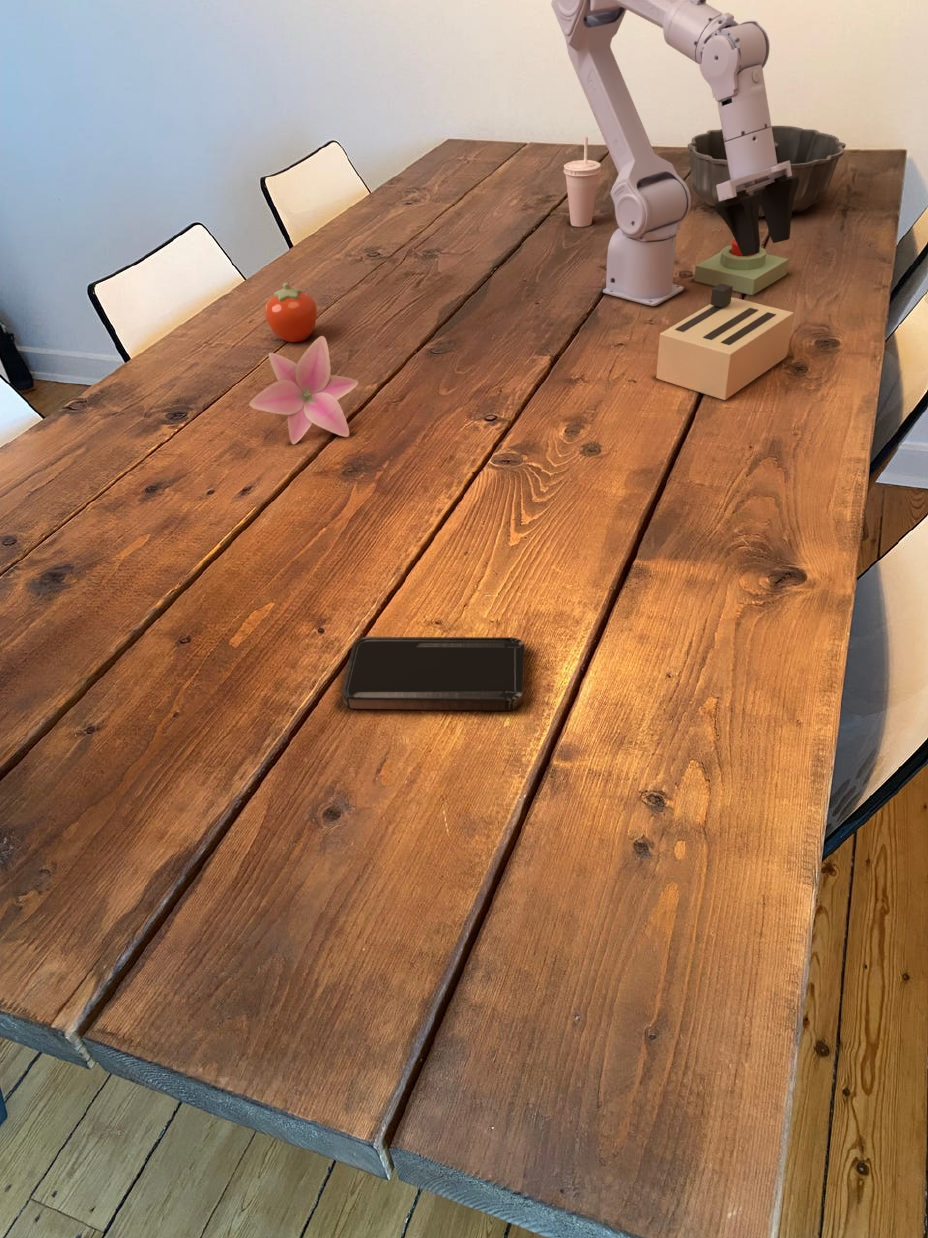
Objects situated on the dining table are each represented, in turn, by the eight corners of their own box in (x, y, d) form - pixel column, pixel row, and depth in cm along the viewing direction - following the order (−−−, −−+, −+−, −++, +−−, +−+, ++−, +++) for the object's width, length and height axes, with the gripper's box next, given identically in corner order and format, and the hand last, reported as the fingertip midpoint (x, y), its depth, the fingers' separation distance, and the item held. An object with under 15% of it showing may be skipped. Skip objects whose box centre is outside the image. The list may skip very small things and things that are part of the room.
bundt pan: (852, 189, 173) (864, 130, 167) (808, 234, 157) (819, 170, 150) (714, 175, 185) (720, 118, 179) (660, 215, 169) (664, 155, 162)
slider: (710, 304, 122) (712, 287, 121) (718, 299, 123) (720, 282, 122) (722, 307, 121) (724, 290, 120) (730, 302, 122) (732, 285, 121)
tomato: (330, 329, 139) (322, 275, 133) (303, 350, 134) (293, 295, 128) (288, 323, 141) (278, 270, 136) (260, 344, 136) (248, 289, 131)
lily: (245, 446, 116) (243, 399, 107) (272, 371, 121) (272, 321, 112) (340, 472, 117) (346, 428, 108) (364, 397, 122) (371, 349, 113)
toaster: (655, 378, 121) (659, 332, 117) (719, 338, 129) (724, 294, 125) (724, 400, 115) (730, 353, 111) (786, 356, 123) (794, 311, 119)
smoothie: (597, 229, 165) (600, 142, 156) (560, 228, 166) (561, 142, 157) (600, 217, 170) (603, 131, 161) (565, 217, 171) (566, 132, 162)
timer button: (726, 255, 142) (727, 243, 141) (738, 248, 144) (740, 236, 143) (747, 259, 140) (749, 248, 139) (760, 252, 142) (761, 240, 141)
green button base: (693, 281, 145) (696, 254, 142) (728, 261, 150) (731, 235, 147) (752, 295, 139) (756, 268, 137) (786, 274, 145) (790, 247, 142)
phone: (522, 701, 76) (339, 698, 78) (522, 710, 77) (341, 708, 78) (524, 636, 82) (355, 635, 84) (524, 646, 83) (356, 645, 84)
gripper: (745, 134, 110) (765, 254, 115) (806, 115, 118) (822, 228, 123) (694, 151, 115) (715, 265, 120) (756, 132, 124) (773, 240, 128)
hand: (766, 247), depth 122 cm, fingers open, 7 cm apart
